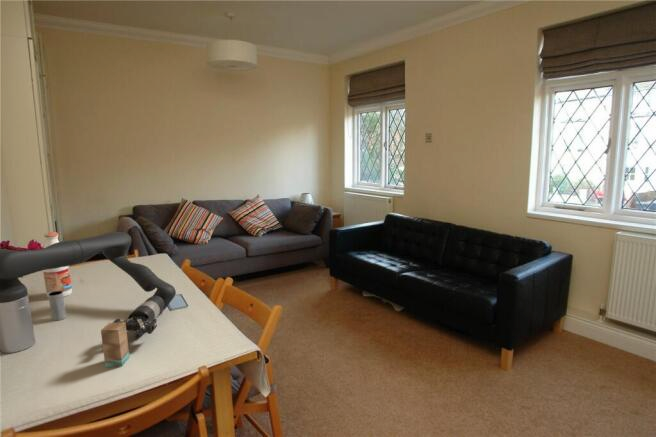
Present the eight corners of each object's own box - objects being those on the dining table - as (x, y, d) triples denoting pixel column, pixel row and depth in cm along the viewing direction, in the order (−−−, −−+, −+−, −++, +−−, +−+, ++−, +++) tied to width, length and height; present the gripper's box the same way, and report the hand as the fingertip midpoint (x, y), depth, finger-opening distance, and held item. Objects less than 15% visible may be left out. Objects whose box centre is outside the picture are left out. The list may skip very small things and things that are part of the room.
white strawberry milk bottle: (49, 292, 179) (40, 232, 173) (73, 289, 183) (65, 230, 177) (44, 300, 171) (35, 237, 165) (70, 296, 174) (62, 234, 169)
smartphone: (170, 310, 160) (163, 297, 172) (170, 312, 160) (164, 299, 172) (189, 306, 163) (181, 293, 176) (189, 308, 163) (181, 295, 176)
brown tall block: (108, 322, 123) (113, 358, 125) (100, 330, 118) (105, 367, 120) (125, 322, 123) (129, 357, 126) (118, 329, 118) (122, 366, 121)
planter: (64, 314, 156) (61, 290, 154) (67, 318, 153) (63, 293, 151) (50, 318, 153) (47, 293, 151) (53, 322, 150) (49, 296, 148)
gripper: (165, 324, 143) (145, 348, 127) (125, 324, 142) (100, 347, 126) (164, 305, 141) (143, 326, 125) (123, 304, 141) (98, 326, 125)
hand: (122, 337), depth 126 cm, fingers open, 8 cm apart
